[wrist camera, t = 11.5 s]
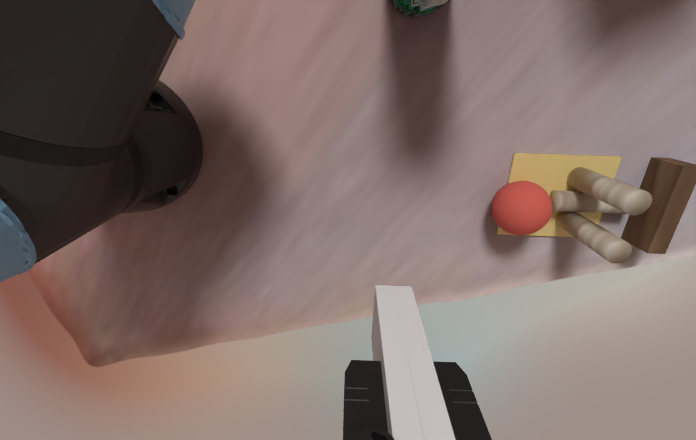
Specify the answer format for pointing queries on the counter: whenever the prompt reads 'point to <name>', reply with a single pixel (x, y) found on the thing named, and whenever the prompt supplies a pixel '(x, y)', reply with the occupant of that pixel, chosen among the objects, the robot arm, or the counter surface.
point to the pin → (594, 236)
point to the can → (418, 6)
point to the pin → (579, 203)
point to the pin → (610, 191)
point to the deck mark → (557, 179)
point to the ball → (521, 208)
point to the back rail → (661, 204)
